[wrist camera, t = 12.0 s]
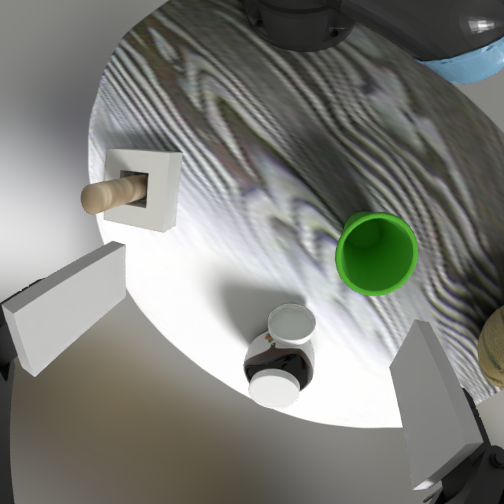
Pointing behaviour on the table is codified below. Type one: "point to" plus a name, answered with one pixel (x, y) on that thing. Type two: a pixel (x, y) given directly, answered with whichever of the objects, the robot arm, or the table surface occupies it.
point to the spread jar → (281, 357)
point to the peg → (113, 193)
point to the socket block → (159, 187)
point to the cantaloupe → (493, 348)
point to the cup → (376, 253)
